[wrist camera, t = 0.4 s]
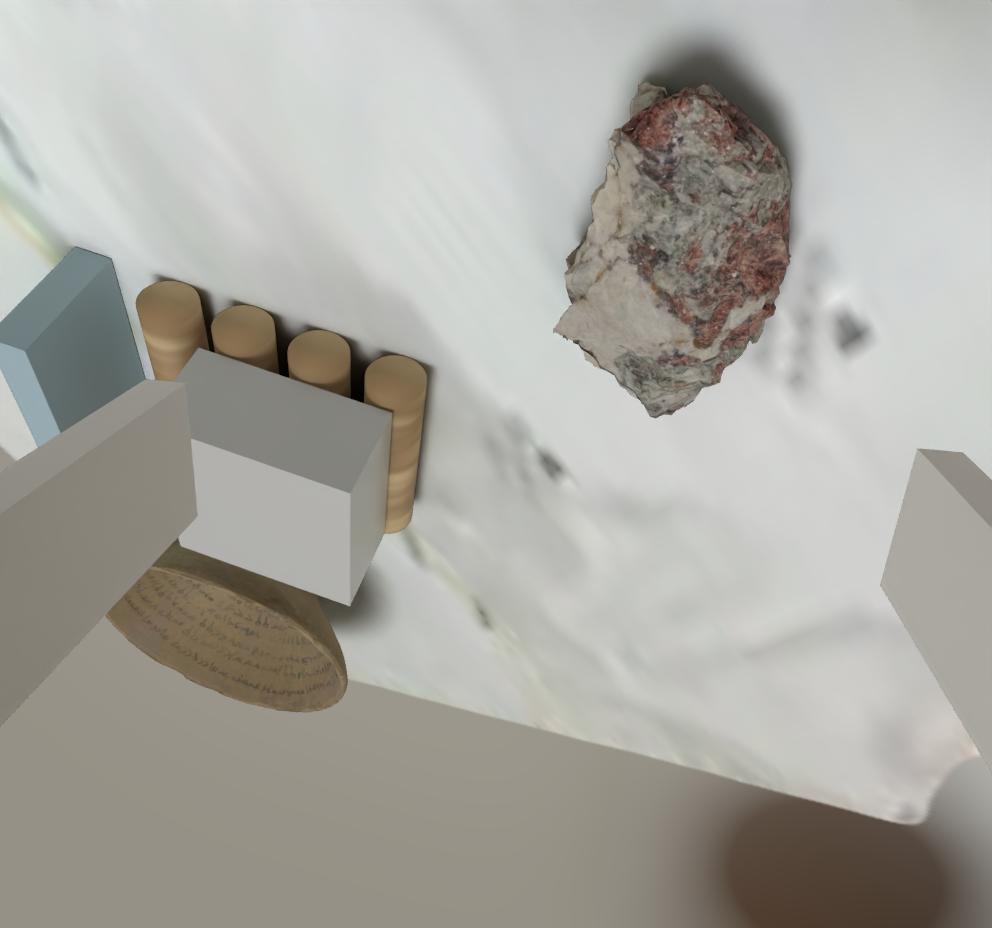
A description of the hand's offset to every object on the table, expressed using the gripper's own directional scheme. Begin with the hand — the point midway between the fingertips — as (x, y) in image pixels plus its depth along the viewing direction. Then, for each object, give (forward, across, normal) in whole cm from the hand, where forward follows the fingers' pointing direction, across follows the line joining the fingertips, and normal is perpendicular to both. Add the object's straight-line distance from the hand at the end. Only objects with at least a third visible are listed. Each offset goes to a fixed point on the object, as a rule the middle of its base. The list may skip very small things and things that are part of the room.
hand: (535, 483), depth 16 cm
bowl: (+40, -20, -26) cm, 52 cm away
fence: (+31, -25, -7) cm, 40 cm away
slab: (+27, -13, -12) cm, 32 cm away
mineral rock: (+20, +4, +2) cm, 21 cm away
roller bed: (+30, -14, -10) cm, 34 cm away
